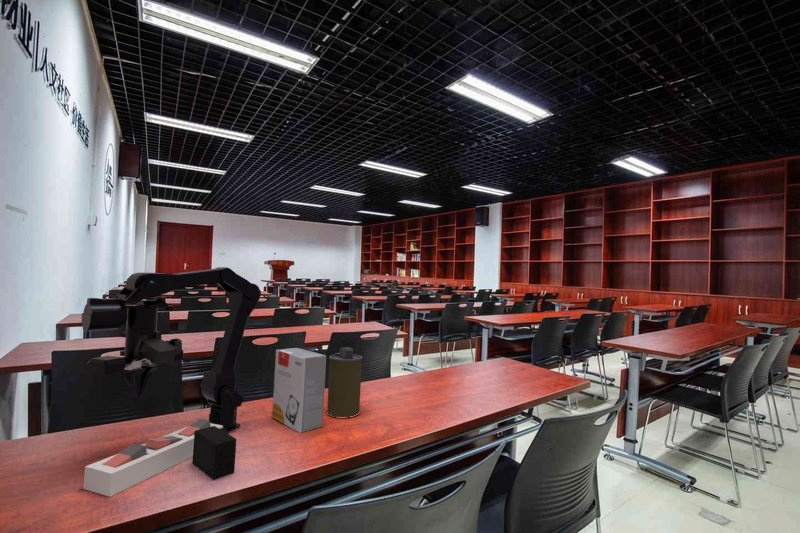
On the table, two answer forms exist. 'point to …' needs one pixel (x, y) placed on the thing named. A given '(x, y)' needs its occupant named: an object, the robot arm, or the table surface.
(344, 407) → the canister
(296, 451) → the table surface
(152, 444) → the rocker
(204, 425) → the rocker
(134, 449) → the rocker
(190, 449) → the rocker switch panel
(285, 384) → the hard drive box
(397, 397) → the table surface
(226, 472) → the black cubic block
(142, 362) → the robot arm
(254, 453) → the table surface
